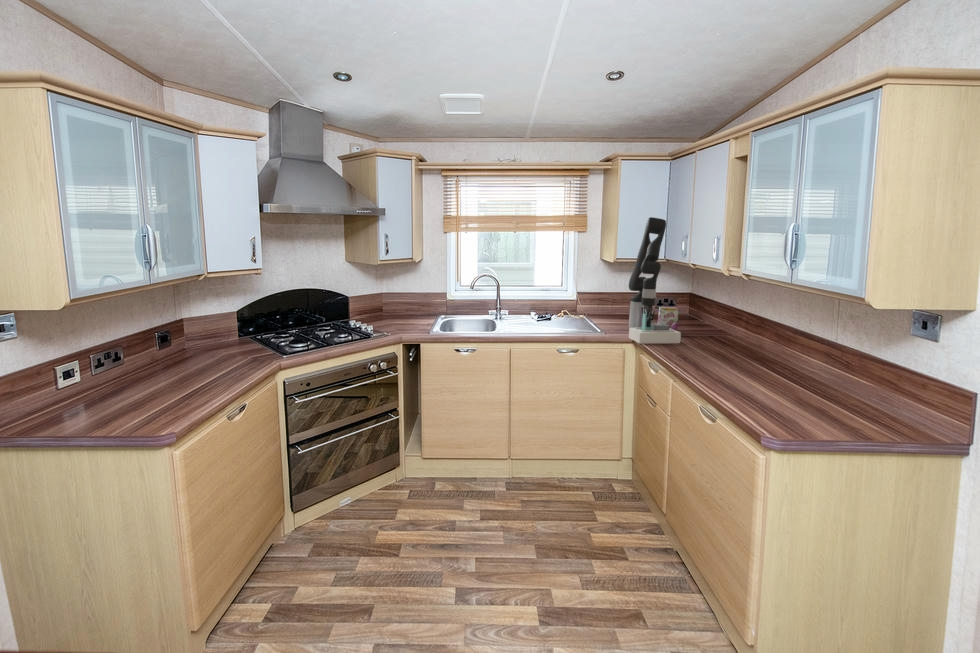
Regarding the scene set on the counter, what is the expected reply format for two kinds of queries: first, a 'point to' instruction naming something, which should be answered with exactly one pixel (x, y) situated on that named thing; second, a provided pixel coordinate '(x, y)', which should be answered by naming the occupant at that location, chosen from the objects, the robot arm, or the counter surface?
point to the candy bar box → (669, 316)
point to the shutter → (660, 326)
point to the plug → (644, 322)
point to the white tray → (654, 335)
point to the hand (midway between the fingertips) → (646, 326)
